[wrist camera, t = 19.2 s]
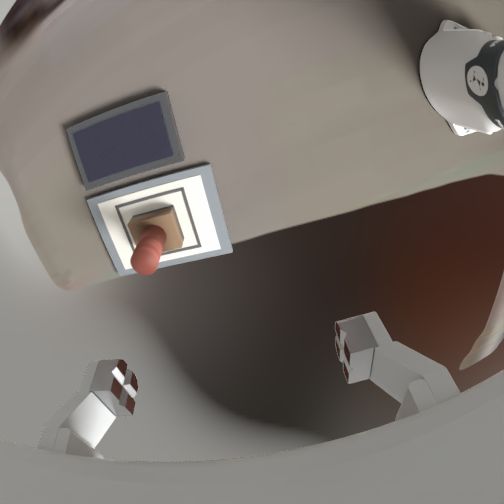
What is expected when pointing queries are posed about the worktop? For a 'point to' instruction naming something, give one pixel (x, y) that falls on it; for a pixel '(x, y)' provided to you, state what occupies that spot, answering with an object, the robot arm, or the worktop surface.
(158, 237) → the stamp
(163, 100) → the ink pad
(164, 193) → the board
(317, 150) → the worktop surface
